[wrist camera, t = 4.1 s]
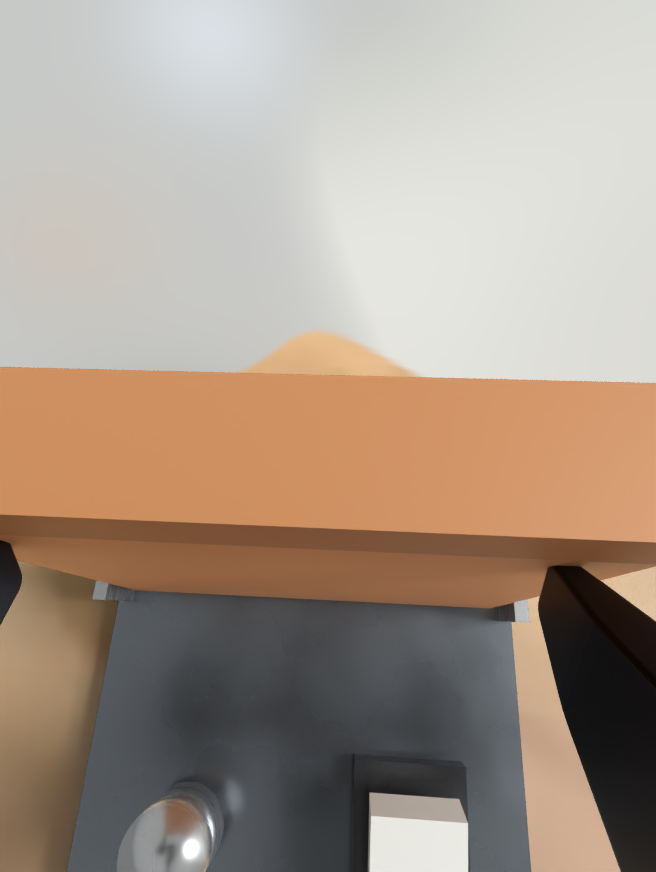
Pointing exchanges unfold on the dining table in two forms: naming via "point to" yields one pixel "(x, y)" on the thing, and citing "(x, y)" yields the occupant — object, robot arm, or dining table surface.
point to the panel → (305, 724)
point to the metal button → (174, 832)
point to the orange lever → (326, 482)
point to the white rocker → (416, 834)
